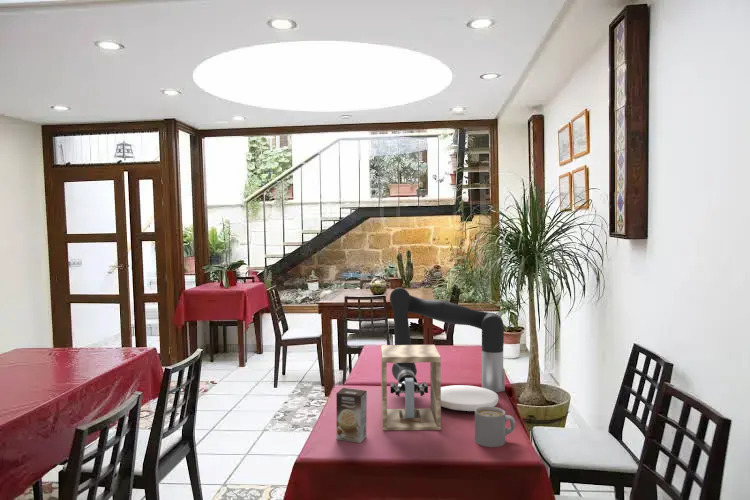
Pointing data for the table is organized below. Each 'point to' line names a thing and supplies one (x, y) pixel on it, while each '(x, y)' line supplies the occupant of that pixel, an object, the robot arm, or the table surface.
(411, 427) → the shelf
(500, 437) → the coffee mug
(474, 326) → the robot arm
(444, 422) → the table surface
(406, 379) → the grey block
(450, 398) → the plate
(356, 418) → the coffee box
